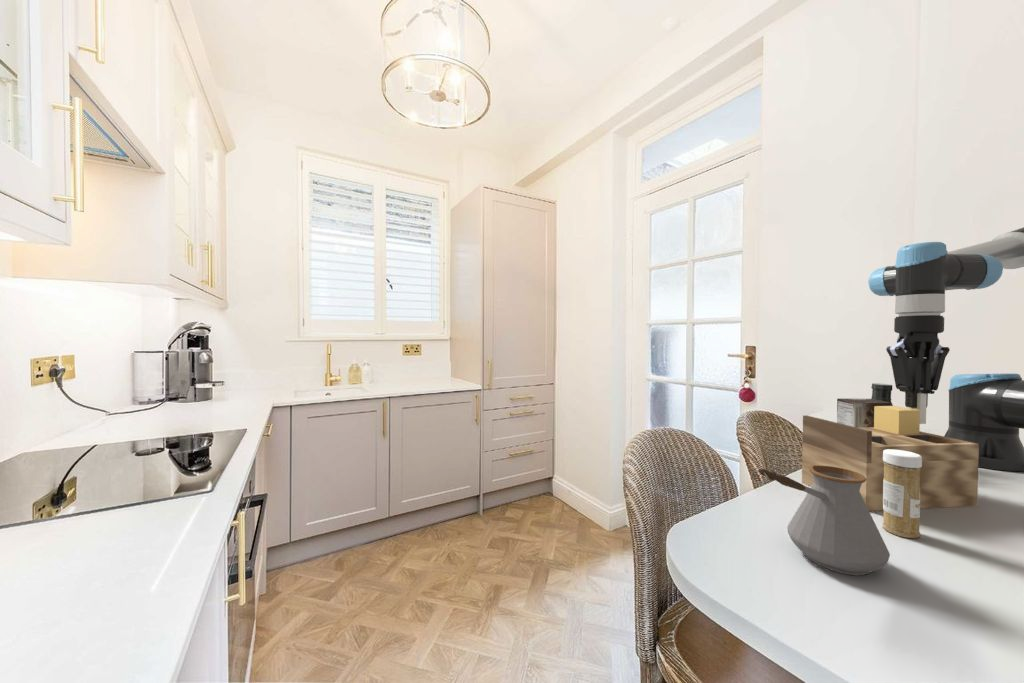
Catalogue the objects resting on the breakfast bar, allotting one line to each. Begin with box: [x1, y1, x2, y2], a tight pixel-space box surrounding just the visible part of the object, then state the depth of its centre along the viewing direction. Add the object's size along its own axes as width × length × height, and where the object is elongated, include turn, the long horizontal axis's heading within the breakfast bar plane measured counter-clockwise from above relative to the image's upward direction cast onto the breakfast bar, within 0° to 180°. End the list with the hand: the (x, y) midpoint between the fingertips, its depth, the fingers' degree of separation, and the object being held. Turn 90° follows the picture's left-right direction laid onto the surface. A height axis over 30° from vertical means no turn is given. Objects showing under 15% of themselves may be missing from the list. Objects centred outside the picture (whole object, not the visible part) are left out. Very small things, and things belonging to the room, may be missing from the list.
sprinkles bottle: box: [881, 449, 922, 539], centre depth 64 cm, size 5×5×14 cm
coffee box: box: [836, 398, 893, 428], centre depth 100 cm, size 9×6×16 cm
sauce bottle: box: [870, 382, 894, 406], centre depth 104 cm, size 6×6×20 cm
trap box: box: [801, 415, 979, 512], centre depth 80 cm, size 24×14×15 cm, turn 96°
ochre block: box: [874, 405, 921, 434], centre depth 84 cm, size 5×5×5 cm
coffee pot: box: [750, 465, 891, 576], centre depth 55 cm, size 21×12×15 cm, turn 108°
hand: (915, 422), depth 85 cm, fingers closed
